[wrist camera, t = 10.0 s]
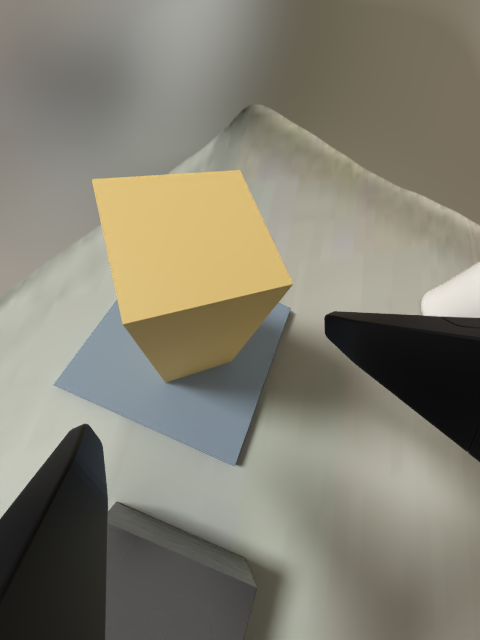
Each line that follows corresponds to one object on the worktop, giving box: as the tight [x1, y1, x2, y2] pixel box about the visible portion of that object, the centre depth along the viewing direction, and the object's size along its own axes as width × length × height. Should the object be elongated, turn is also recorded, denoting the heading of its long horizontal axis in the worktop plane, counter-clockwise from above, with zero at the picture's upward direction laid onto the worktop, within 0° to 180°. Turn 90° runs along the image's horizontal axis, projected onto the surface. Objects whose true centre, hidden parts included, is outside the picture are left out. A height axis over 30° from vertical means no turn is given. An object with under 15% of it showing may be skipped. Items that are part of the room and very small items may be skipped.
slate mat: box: [54, 300, 291, 466], centre depth 17 cm, size 12×12×1 cm
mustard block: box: [92, 170, 293, 383], centre depth 12 cm, size 5×5×11 cm
